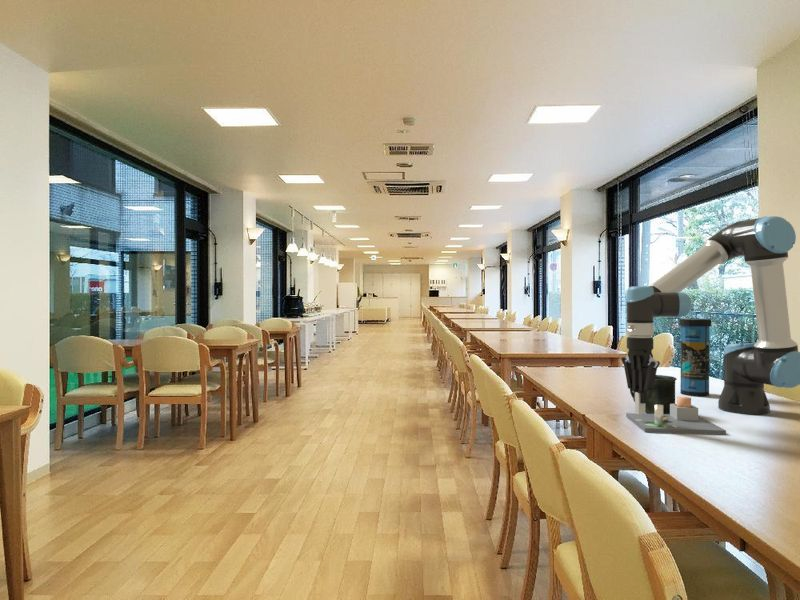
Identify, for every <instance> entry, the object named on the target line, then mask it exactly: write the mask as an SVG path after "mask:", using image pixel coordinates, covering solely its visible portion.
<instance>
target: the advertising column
mask: <svg viewBox="0 0 800 600" xmlns="http://www.w3.org/2000/svg"><path fill="white" fill-rule="evenodd" d="M678 321H679V322H678V323H679V324H678V325H679V326H680V394H681V395H684V396H687V397H688V396H689V397H698V398H699V397H709V396H710V327H712V318H711V319H710V318H689V317H688V318H687V317H686V318H679V320H678Z"/></svg>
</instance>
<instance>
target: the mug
mask: <svg viewBox="0 0 800 600" xmlns="http://www.w3.org/2000/svg"><path fill="white" fill-rule="evenodd" d="M676 381H677V377H674V376H671V375H662V374H656V376H655V381H654V386H653V391H650V392H647V403H645V414H654V405H655V404H661V405H663V414H670V404H676ZM629 392H630V393H629V394H630V395H631V397H632V398H633V390H632V389H629Z"/></svg>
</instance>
